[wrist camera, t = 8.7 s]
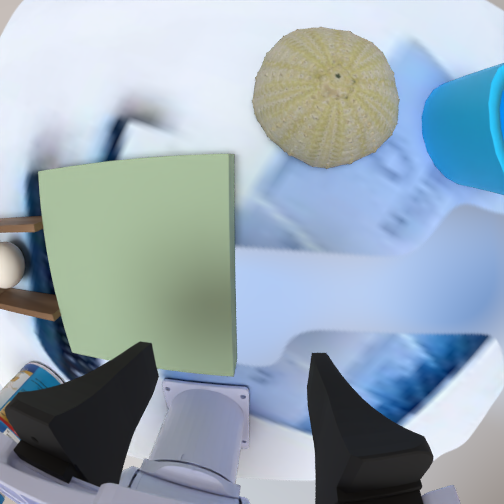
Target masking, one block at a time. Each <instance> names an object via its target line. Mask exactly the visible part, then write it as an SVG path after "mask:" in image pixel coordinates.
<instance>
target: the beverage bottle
mask: <svg viewBox="0 0 504 504" xmlns="http://www.w3.org/2000/svg"><path fill="white" fill-rule="evenodd" d="M60 384H63V382H62V381H61V379H60V378H59V377H58V376H57V375H56V374H54V373H53V372H52V371H51V370H49V369H48V368H46V367H45V366H43V365H41V364H38V363H28V364H26V365H25V366H24V367H23V368H22V369H21V370H20V372H19V373H18V374H17V375H16V376H15V377H14V378H13V379H12V380H11V381H10V382H9V383H8V384H7V385H6V386H5V387H4V388H3V389H2V390H1V391H0V432H2V433H3V434H5V435H7V436H8V437H10V438H12V439H13V440H14V441H15V442H16V443H17V444H18V443H19V442H20V440H21V439H20V438H19V436H18V435H17V433H16V432H15V430H14V429H13V427H12V426H11V424H10V423H9V421H8V419H7V417H6V414H5V407H6V406H7V405H8V404H9V402H10V401H11V400H12V399H13V398H14V397H15V396H16V395H17V393H18V392H26V391H34V390H40V389H45V388H49V387H53V386H57V385H60ZM4 498H5V495H4V494H3V493H1V492H0V504H2V503H3V501H4Z"/></svg>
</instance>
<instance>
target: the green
mask: <svg viewBox="0 0 504 504" xmlns="http://www.w3.org/2000/svg"><path fill="white" fill-rule="evenodd" d="M38 174H39V190H40V202H41V212H42V220H43V228H44V235H45V242H46V248H47V254H48V260H49V265H50V270H51V275H52V280H53V284H54V289H55V293H56V297H57V301H58V305H59V309H60V313H61V317H62V320H63V324H64V327H65V331H66V334H67V337H68V340H69V344H70V347H71V350H72V352H73V353H77V354H82V355H86V356H91V357H95V358H100V359H105V360H112V359H113V358H115V357H116V356H118V355H120V354H121V353H123V352H124V351H126V350H127V349H129V348H130V347H132V346H133V345H135V344H136V343H138V342H140V341H141V342H149V343H152V347H153V352H154V357H155V362H156V367H157V369H165V370H172V371H180V372H189V373H198V374H208V375H219V376H232V377H234V372H235V367H236V362H237V334H236V291H235V290H236V289H235V219H234V154H203V155H180V156H164V157H150V158H138V159H127V160H117V161H108V162H100V163H92V164H84V165H77V166H70V167H63V168H57V169H51V170H45V171H39V172H38Z"/></svg>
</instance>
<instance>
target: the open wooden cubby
mask: <svg viewBox="0 0 504 504" xmlns="http://www.w3.org/2000/svg"><path fill="white" fill-rule="evenodd" d="M41 229H44V228H43V220H42V216H31V217H15V218H2V219H0V233H6V232H36V231H39V230H41ZM0 309H4V310H8V311H12V312H16V313H20V314H24V315H28V316H33V317H37V318H42V319H47V320H51V321H55V320H56V319H57V318H58V317H60V316H61V313H60V309H59V305H58V301H57V297H56V295H52V294H45V293H38V292H32V291H26V290H20V289H14V288H6V289H5V288H0Z"/></svg>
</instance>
